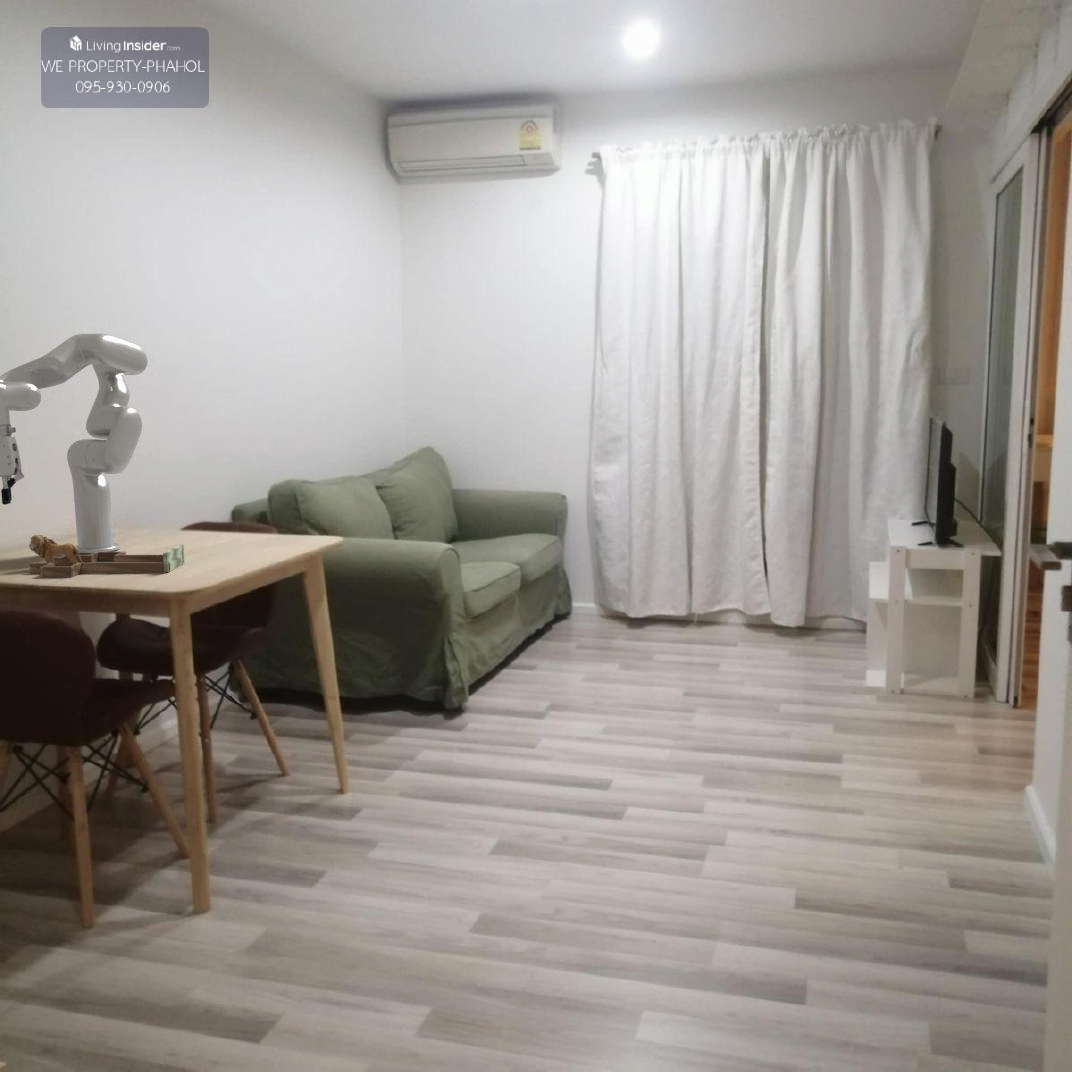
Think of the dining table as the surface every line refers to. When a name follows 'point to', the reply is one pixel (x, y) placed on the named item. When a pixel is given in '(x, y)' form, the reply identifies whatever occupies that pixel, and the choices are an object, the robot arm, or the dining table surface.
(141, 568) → the wooden walled channel
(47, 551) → the lion figurine
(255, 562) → the dining table surface
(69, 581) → the dining table surface
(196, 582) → the dining table surface
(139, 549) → the dining table surface
